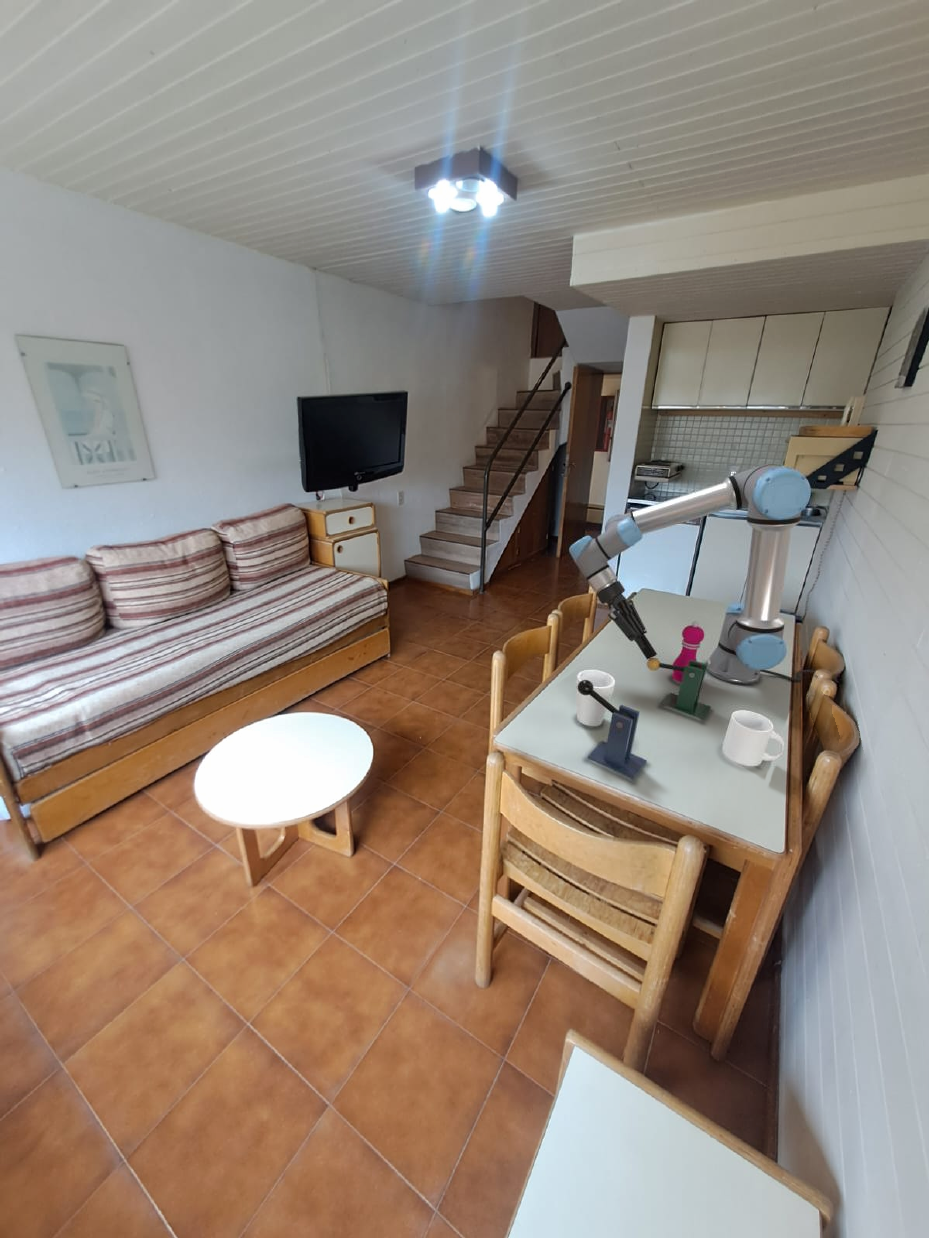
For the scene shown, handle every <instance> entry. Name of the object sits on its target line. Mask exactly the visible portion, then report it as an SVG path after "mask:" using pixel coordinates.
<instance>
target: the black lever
mask: <svg viewBox="0 0 929 1238" xmlns="http://www.w3.org/2000/svg"><path fill="white" fill-rule="evenodd" d="M593 688H594V687H593V684H592V683H591V682H590V681H588V680H582V681H581V682H579V684H578V691H579V693H580V694H582V695H590V696H592V697H593V698H594V699H595V700H597V701H598V702H599V703H600V704H601V705H603V706H604V707H605V708H606V710H608V712H610V713H611V714H613V713H614V712H615V713H618V714H620V715H623V716H625V717H628V718H630V719H633V720H634V718H633V717H632V716H631V715H630V714H629V713H627V712H626V711H625V710H624V711H623V712H622V713H621V712H620V711H619V709H618V708H616V707H615V706H614V705H613V704H611V703H610V701H609V702H607V701H606V700H605V699H604V698H602V697H601V696H600V695H599V694H597V693H596V692H595V691H594V690H593Z"/></svg>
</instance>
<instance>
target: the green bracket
mask: <svg viewBox="0 0 929 1238" xmlns="http://www.w3.org/2000/svg"><path fill="white" fill-rule="evenodd" d="M690 665H695V666H701V667H702V670H701V669H698V668H695V667H692V666H690ZM706 673H707V663H703V662H700V661H698V660H697V661H694V660H690V661H689V665H686V666H685V669H684V673H683V677H682V681H681V682H680V685H679V690H678V693H677V694H676V693H674V692H670V693H669V694H668V695H667V697H666V698H665V699H664V701H662V703H661V705H662V706H665V707H668V708H671V709H674V710H675V711H679V712H680V713H681V712H682V713H684V714H687V715H690V716H692V717H696V718H698V719H700V720H704V719H705V717H706V716H707V714H708V713H709V711H710V710H711V708H712V706H710V705H708V704H705V703H702V702H699V700H700V696H701V691H702V688H703V683H704V679H705V676H706Z"/></svg>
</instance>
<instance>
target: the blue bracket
mask: <svg viewBox="0 0 929 1238" xmlns="http://www.w3.org/2000/svg"><path fill="white" fill-rule="evenodd" d="M624 710H625V711H626V712H627V713H629V714H630V715H631V716H632V717H633V718H634V720H633V719H630V718H628V717H625V716H623V715H620V714H618V713H615V712H614V713H611V718H610V724H609V728H608V729H609V730H608V735H607V740H606V741H604V740H601V742H600V743H599V744H598V745H597V746H596V747H595V748H594V749H593V751H591V752H590V754H589V755H588V756H587V759H589V760H591V761H592V762H595V763H597V764H599V765H602V766H603V767H606V768H608V769H610V770H612V771H614V772H617V773H618V774H621V775H623V776H625V777H627V778H629V779H631V780H634V779H635V778H636V777H637V775H638V774H639V773H640V771H641V770H642V768H643V767H644V766H645V764H646V763H647V759H644V758H642V757H640V756H638V755H635V754H633V753H632V752H633V746H634V742H635V737H636V731H637V727H638V722H639V718H640V713H641V712H640V711H639V710H637V709H636V710H635V709H633V708H631V707H629V706H625V705H623V704H620V705H619V707H618V711H620V712H621V713H622V712H623V711H624Z"/></svg>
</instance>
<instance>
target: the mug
mask: <svg viewBox="0 0 929 1238" xmlns="http://www.w3.org/2000/svg"><path fill="white" fill-rule="evenodd" d="M770 739H772V740H774V741H777V742H778V743H779V744H780V746H781V751H780V752H779V753H777V754H769V753H767V752H766V751H767V748H768V745H769V742H770ZM785 744H786V743H785V741H784V739H783V738H782V737H781V736H780V734H779V733H778V732H776V731H774V724H773V722H772V721H771V720H770V719H769V718H767V717H766V716H764V715H762V714H760V713H757V712H755V711H751V710H745V709H740V710H735V711H733V712H732V713H731V715H730V720H729V722H728V726H727V729H726V732H725V736H724V739H723V743H722V746H721V752H722V753H723V754H724V756H725V757H726V758H727V759H728V760H731V761H733V763H736V764H739V765H742V766H746V767H756V766H757V767H758V766H760V765H761V764H762V762H763V761H765V762H771V761H775V760H777V759H779V758H781V756H783V753H784V752H785V748H786V745H785Z"/></svg>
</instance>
